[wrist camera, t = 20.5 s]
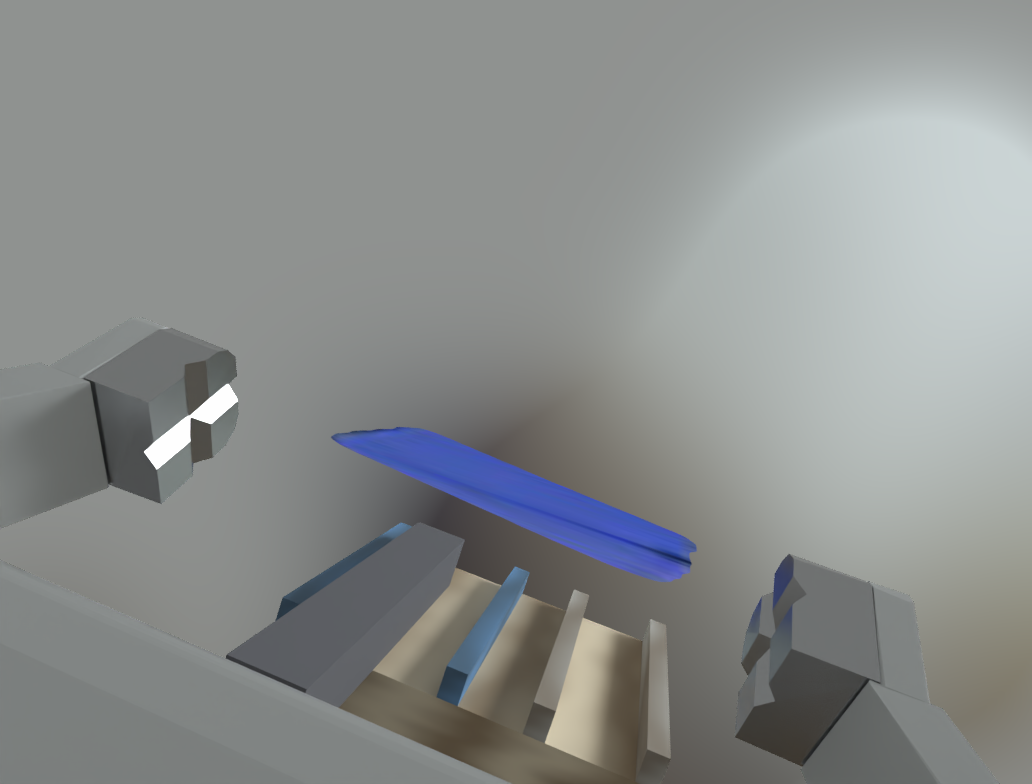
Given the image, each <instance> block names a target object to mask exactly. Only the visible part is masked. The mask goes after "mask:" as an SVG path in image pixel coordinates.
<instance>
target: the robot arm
mask: <svg viewBox="0 0 1032 784" xmlns="http://www.w3.org/2000/svg"><path fill="white" fill-rule="evenodd" d="M236 376H237V370H236V359H235V356H234V355H233V354H231V353H230V352H229V351H228V350H226V349H223V348H221V347H218V346H216V345H213V344H211V343H208V342H205V341H203V340H200V339H198V338H195V337H193V336H190V335H188V334H185V333H183V332H180V331H177V330H175V329H172V328H167V327H166V326H163V325H160V324H158V323H155V322H153V321H150V320H148V319H145V318H131V319H129V320H127V321H125V322H124V323H122V324H120V325H119V326H117V327H115V328H114V329H112V330H110V331H108V332H107V333H105V334H103V335H102V336H100V337H98V338H96V339H95V340H93V341H91V342H90V343H88V344H86V345H84V346H83V347H81V348H79V349H77V350H76V351H74V352H73V353H71V354H69V355H68V356H66V357H64V358H62V359H61V360H59V361H57V362H55V363H54V364H52V365H50V366H48V365H45V364H42V363H36V364H29V365H23V366H17V367H11V368H5V369H0V529H1V528H4V527H6V526H9V525H12V524H14V523H17V522H19V521H22V520H25V519H27V518H30V517H32V516H35V515H38V514H40V513H43V512H46V511H48V510H51V509H54V508H56V507H59V506H62V505H64V504H66V503H69V502H72V501H74V500H77V499H80V498H83V497H85V496H88V495H90V494H93V493H96V492H98V491H101V490H103V489H106V488H108V487H109V485H112V486H114V487H117V488H120V489H123V490H125V491H128V492H130V493H133V494H136V495H138V496H141V497H144V498H147V499H149V500H152V501H155V502H157V503H160V504H162V503H163V502H164V501H165V500H166V499H167V498H168V497H169V496H171V495H172V494H173V493H174V492H175V491H176V490H177V489H178V488H179V487H181V486H182V485H183V484H184V483H185V482H186V481H187V480H188V479H189V478H191V477H192V475H193V463H195V462H199V461H202V460H206V459H209V458H213V457H214V456H215V455H216V454H217V453H218V452H219V451H220V450H221V449H222V448H223V447H224V446H225V445H226V443H227V441H228V440H229V438H230V436H231V435H232V433H233V431H234V429H235V426H236V421H237V417H238V400H237V398H236V396H235V395H234V393H233V391H232V390H231V388H230V386H229V385H228V384H229V383H230V382H231V381H232V380H233V379H234V378H235V377H236ZM108 484H109V485H108ZM741 664H742V666H743V668H744V669H745V671H746V673H747V675H748V677H747V679H746V681H745V682H744V684H743V686H742V688H741V689H740V691H739V694H738V706H737V718H736V729H735V737H736V738H738V739H740V740H743V741H745V742H747V743H749V744H752V745H754V746H756V747H758V748H761V749H763V750H765V751H768V752H770V753H772V754H775V755H777V756H779V757H782V758H784V759H786V760H788V761H791V762H793V763H795V764H797V765H800V766H802V768H801V771H802V774H803V776H804V778H805V781H806V783H807V784H999V782H998V781H997V780H996V778H995V777H994V776H993V774H992V773H991V772H990V770H989V769H988V768H987V767H986V765H985V764H984V762H983V761H982V760H981V759H980V757H979V756H978V755H977V753H976V752H975V751H974V749H973V748H972V747H971V745H970V744H969V743H968V741H967V740H966V739H965V738H964V736H963V735H962V734H961V732H960V731H959V730H958V728H957V727H956V726H955V725H954V723H953V722H952V720H951V719H950V718H949V716H948V715H947V714H946V712H945V711H944V710H943V708H940V707H937V706H935V705H932V704H930V700H929V694H928V688H927V682H926V675H925V669H924V662H923V657H922V650H921V644H920V638H919V631H918V625H917V619H916V612H915V606H914V601H913V600H912V599H911V597H910V596H909V595H907V594H904V593H902V592H899V591H896V590H893V589H890V588H887V587H884V586H881V585H878V584H875V583H872V582H869V581H868V582H866V581H864V580H861V579H858V578H855V577H852V576H850V575H847V574H844V573H841V572H838V571H836V570H833V569H830V568H827V567H825V566H822V565H819V564H816V563H813V562H810V561H808V560H805V559H802V558H799V557H796V556H794V555H791V554H789V555H788V556H787V557H786V558H785V559H784V560H783V561H782V562H781V564H780V566H779V567H778V569H777V571H776V573H775V578H774V592H772V593H770V594H767V595H764V596H762V597H761V599H760V601H759V603H758V605H757V607H756V609H755V611H754V612H753V615H752V618H751V621H750V623H749V626H748V629H747V632H746V636H745V641H744V646H743V653H742V662H741ZM0 784H512V783H509V782H507V781H505V780H502V779H500V778H498V777H495V776H493V775H491V774H489V773H486V772H484V771H482V770H479V769H477V768H475V767H473V766H470V765H468V764H466V763H463V762H461V761H459V760H456V759H454V758H452V757H450V756H447V755H445V754H443V753H440V752H438V751H436V750H434V749H431V748H429V747H427V746H424V745H422V744H420V743H417V742H415V741H413V740H411V739H408V738H406V737H404V736H401V735H399V734H397V733H395V732H392V731H390V730H388V729H385V728H383V727H381V726H379V725H376V724H374V723H372V722H369V721H367V720H365V719H363V718H360V717H358V716H356V715H353V714H351V713H349V712H347V711H344V710H342V709H340V708H338V707H335V706H333V705H331V704H328V703H326V702H324V701H322V700H319V699H317V698H315V697H312V696H310V695H308V694H306V693H303V692H301V691H299V690H297V689H294V688H292V687H290V686H287V685H285V684H283V683H281V682H278V681H276V680H274V679H271V678H269V677H267V676H265V675H262V674H260V673H258V672H256V671H253V670H251V669H249V668H246V667H244V666H242V665H240V664H237V663H235V662H233V661H230V660H228V659H226V658H224V657H221V656H219V655H216V654H214V653H212V652H210V651H208V650H205V649H203V648H201V647H199V646H196V645H194V644H191V643H189V642H187V641H185V640H183V639H180V638H178V637H176V636H173V635H171V634H169V633H167V632H164V631H162V630H160V629H157V628H155V627H153V626H150V625H148V624H146V623H144V622H141V621H139V620H137V619H135V618H132V617H130V616H128V615H125V614H123V613H121V612H119V611H116V610H114V609H112V608H109V607H107V606H105V605H102V604H100V603H98V602H96V601H93V600H91V599H89V598H86V597H84V596H82V595H80V594H77V593H75V592H73V591H71V590H68V589H66V588H64V587H62V586H59V585H57V584H55V583H52V582H50V581H47V580H45V579H43V578H41V577H39V576H36V575H34V574H32V573H30V572H27V571H25V570H23V569H20V568H18V567H16V566H14V565H11V564H8V563H7V562H4V561H2V560H0Z"/></svg>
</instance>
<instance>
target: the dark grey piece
mask: <svg viewBox="0 0 1032 784" xmlns="http://www.w3.org/2000/svg"><path fill="white" fill-rule="evenodd" d="M463 543H464V539H461V538H459V537H456V536H454V535H451V534H449V533H446V532H443V531H441V530H438V529H436V528H433V527H430V526H428V525H425V524H422V523H420V522H419V523H417V524H416V525H414V526H413V527H411V528H410V529H408V530H407V531H405V532H404V533H403V534H401V535H400V536H398V537H397V538H395V539H394V540H392V541H391V542H389V543H388V544H387V545H385V546H384V547H382V548H381V549H379V550H378V551H376V552H375V553H374V554H372V555H371V556H369V557H368V558H366V559H365V560H363V561H362V562H360V563H359V564H358V565H356V566H355V567H353V568H352V569H350V570H349V571H347V572H346V573H344V574H343V575H342V576H340V577H339V578H337V579H336V580H334V581H333V582H331V583H330V584H329V585H327V586H326V587H324V588H323V589H321V590H320V591H318V592H317V593H315V594H314V595H313V596H311V597H310V598H308V599H307V600H305V601H304V602H302V603H301V604H299V605H298V606H297V607H295V608H294V609H292V610H291V611H289V612H288V613H286V614H285V615H284V616H282V617H281V618H279V619H278V620H276V621H275V622H273V623H272V624H271V625H269V626H268V627H266V628H265V629H264V630H262V631H260V632H259V633H258V634H256V635H254V636H253V637H252V638H250V639H249V640H247V641H246V642H244V643H243V644H241V645H240V646H238V647H237V648H236V649H234V650H233V651H231V652H230V653H228V654H227V656H226V659H228V660H230V661H233V662H235V663H237V664H240V665H242V666H244V667H246V668H249V669H251V670H253V671H256V672H258V673H260V674H262V675H265V676H267V677H269V678H271V679H274V680H276V681H278V682H281V683H283V684H285V685H287V686H290V687H292V688H294V689H297V690H299V691H301V692H303V693H306V694H308V695H310V696H312V697H315V698H317V699H319V700H322V701H324V702H326V703H328V704H331V705H333V706H335V707H338V708H339V707H340V706H341V705H342V704H343V702H344V701H345V700H346V699H347V698H348V697H349V696H350V695H351V694H352V693H353V691H354V690H355V689H356V688H357V687H358V686H359V685H360V684H361V683H362V682H363V680H364V679H365V678H366V677H367V676H368V675H369V674H370V673H371V672H372V671H373V669H374V668H375V667H376V666H377V665H378V664H379V663H380V662H381V661H382V660H383V658H384V657H385V656H386V655H387V654H388V653H389V652H390V651H391V650H392V648H393V647H394V646H395V645H396V644H397V643H398V642H399V641H400V640H401V639H402V637H403V636H404V635H405V634H406V633H407V632H408V631H409V630H410V629H411V628H412V626H413V625H414V624H415V623H416V622H417V621H418V620H419V619H420V618H421V617H422V615H423V614H424V613H425V612H426V611H427V610H428V609H429V608H430V607H431V606H432V604H433V603H434V602H435V601H436V600H437V599H438V598H439V597H440V596H441V595H442V593H443V592H444V591H445V590H446V589H447V588H448V587H449V586H450V583H451V580H452V577H453V574H454V571H455V568H456V564H457V561H458V558H459V555H460V552H461V549H462V546H463Z"/></svg>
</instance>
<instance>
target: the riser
mask: <svg viewBox="0 0 1032 784" xmlns="http://www.w3.org/2000/svg"><path fill="white" fill-rule="evenodd" d="M411 527H412V526H409V525H406V524H404V523H400V524H398V525H397V526H395V527H393V528H392V529H390V530H389V531H387V532H385V533H384V534H382V535H381V536H379V537H378V538H376V539H374V540H373V541H371V542H370V543H369V544H367V545H365V546H363V547H362V548H360V549H359V550H357V551H356V552H354V553H352V554H351V555H349V556H348V557H346V558H345V559H343V560H341V561H340V562H338V563H337V564H335V565H333V566H332V567H330V568H329V569H327V570H326V571H324V572H322V573H321V574H319V575H318V576H316V577H315V578H313V579H311V580H310V581H308V582H307V583H305V584H303V585H302V586H300V587H299V588H297V589H295V590H294V591H292V592H291V593H289V594H288V595H286V596H284V597H283V599H282V602H281V605H280V608H279V612H278V615H277V618H276V620H278V619H279V618H281V617H282V616H284V615H285V614H286V613H288V612H289V611H291V610H292V609H294V608H295V607H297V606H298V605H299V604H301V603H302V602H304V601H305V600H307V599H308V598H310V597H311V596H313V595H314V594H315V593H317V592H318V591H320V590H321V589H323V588H324V587H326V586H327V585H329V584H330V583H331V582H333V581H334V580H336V579H337V578H339V577H340V576H342V575H343V574H344V573H346V572H347V571H349V570H350V569H352V568H353V567H355V566H356V565H358V564H359V563H360V562H362V561H363V560H365V559H366V558H368V557H369V556H371V555H372V554H374V553H375V552H376V551H378V550H379V549H381V548H382V547H384V546H385V545H387V544H388V543H389V542H391V541H392V540H394V539H395V538H397V537H398V536H400V535H401V534H403V533H404V532H405V531H407V530H408V529H410V528H411ZM528 576H529V572H528V571H525V570H523V569H520V568H517V567H515V568H514V569H513V570H512V572H511V573H510V575H509V576H508V578H507V579H506V581H505V582H504V583H503V585H502V586H501V585H498V584H495V583H493V582H490V581H488V580H486V579H483V578H480V577H478V576H475V575H473V574H470V573H467V572H465V571H462V570H460V569H458V568H455V571H454V574H453V577H452V580H451V583H450V586H449V587H448V588H447V589H446V590H445V591H444V592H443V593H442V595H441V596H440V597H439V598H438V599H437V600H436V601H435V602H434V603H433V604H432V606H431V607H430V608H429V609H428V610H427V611H426V612H425V613H424V614H423V615H422V617H421V618H420V619H419V620H418V621H417V622H416V623H415V624H414V625H413V626H412V628H411V629H410V630H409V631H408V632H407V633H406V634H405V635H404V636H403V637H402V639H401V640H400V641H399V642H398V643H397V644H396V645H395V646H394V647H393V648H392V650H391V651H390V652H389V653H388V654H387V655H386V656H385V657H384V658H383V660H382V661H381V662H380V663H379V664H378V665H377V666H376V667H375V668H374V669H373V671H372V672H371V673H370V674H369V675H368V676H367V677H366V678H365V679H364V680H363V682H362V683H361V684H360V685H359V686H358V687H357V688H356V689H355V690H354V691H353V693H352V694H351V695H350V696H349V697H348V698H347V699H346V700H345V701H344V702H343V704H342V705H341V706H340V707H339V708H340V709H342V710H344V711H347V712H349V713H351V714H353V715H356V716H358V717H360V718H363V719H365V720H367V721H369V722H372V723H374V724H376V725H379V726H381V727H383V728H385V729H388V730H390V731H392V732H395V733H397V734H399V735H401V736H404V737H406V738H408V739H411V740H413V741H415V742H417V743H420V744H422V745H424V746H427V747H429V748H431V749H434V750H436V751H438V752H440V753H443V754H445V755H447V756H450V757H452V758H454V759H456V760H459V761H461V762H463V763H466V764H468V765H470V766H473V767H475V768H477V769H479V770H482V771H484V772H486V773H489V774H491V775H493V776H495V777H498V778H500V779H502V780H505V781H507V782H509V783H512V784H662V781H663V779H664V776H665V773H666V770H667V768H668V765H669V762H670V759H671V754H670V728H669V727H670V726H669V725H670V724H669V696H668V670H667V669H668V668H667V640H666V625H664V624H661V623H659V622H657V621H654V620H651V619H650V622H649V624H648V627H647V630H646V633H645V636H644V638H643V641H641V640H638V639H636V638H633V637H631V636H628V635H626V634H623V633H620V632H618V631H615V630H613V629H610V628H608V627H605V626H602V625H600V624H598V623H595V622H592V621H590V620H587V619H585V618H583V615H584V612H585V608H586V605H587V601H588V598H589V595H587V594H584V593H582V592H579V591H577V590H574V591H573V594H572V597H571V600H570V603H569V605H568V608H567V611H564V610H562V609H559V608H557V607H554V606H552V605H549V604H547V603H544V602H541V601H539V600H536V599H534V598H531V597H529V596H526V595H524V594H522V593H523V590H524V588H525V584H526V582H527V578H528Z"/></svg>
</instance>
